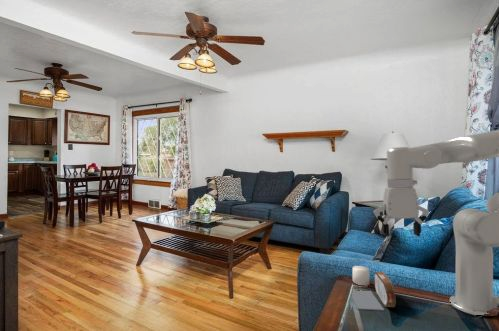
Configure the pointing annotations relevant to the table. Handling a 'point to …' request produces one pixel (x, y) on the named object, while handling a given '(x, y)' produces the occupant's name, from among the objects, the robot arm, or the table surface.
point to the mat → (366, 300)
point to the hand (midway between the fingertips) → (401, 235)
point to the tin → (384, 289)
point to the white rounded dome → (361, 275)
